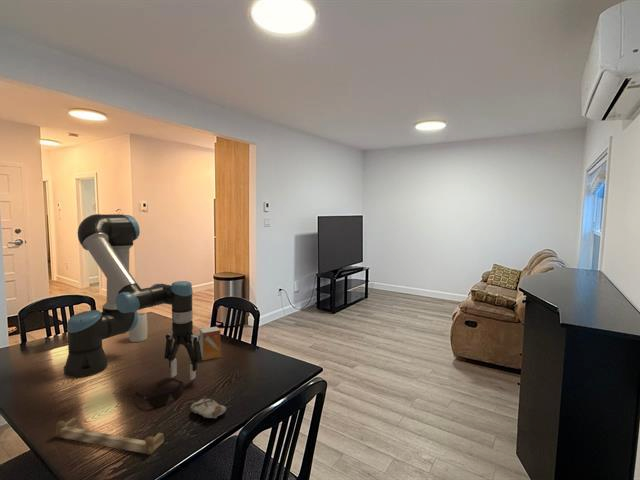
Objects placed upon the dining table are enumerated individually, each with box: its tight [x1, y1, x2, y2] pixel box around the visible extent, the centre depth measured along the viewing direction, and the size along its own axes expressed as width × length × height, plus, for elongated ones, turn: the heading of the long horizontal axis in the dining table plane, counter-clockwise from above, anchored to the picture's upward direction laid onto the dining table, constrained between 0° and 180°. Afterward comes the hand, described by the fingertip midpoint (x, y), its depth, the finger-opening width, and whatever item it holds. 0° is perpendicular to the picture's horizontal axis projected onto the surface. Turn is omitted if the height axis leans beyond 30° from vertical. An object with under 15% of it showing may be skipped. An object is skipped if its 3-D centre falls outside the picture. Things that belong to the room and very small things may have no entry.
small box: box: [199, 326, 221, 362], centre depth 158 cm, size 8×6×13 cm
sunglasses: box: [135, 377, 184, 408], centre depth 124 cm, size 14×16×5 cm
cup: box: [128, 312, 148, 343], centre depth 176 cm, size 8×8×14 cm
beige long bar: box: [56, 417, 165, 456], centre depth 100 cm, size 32×6×4 cm, turn 77°
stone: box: [190, 397, 227, 419], centre depth 113 cm, size 12×9×3 cm
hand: (183, 377), depth 136 cm, fingers open, 8 cm apart
